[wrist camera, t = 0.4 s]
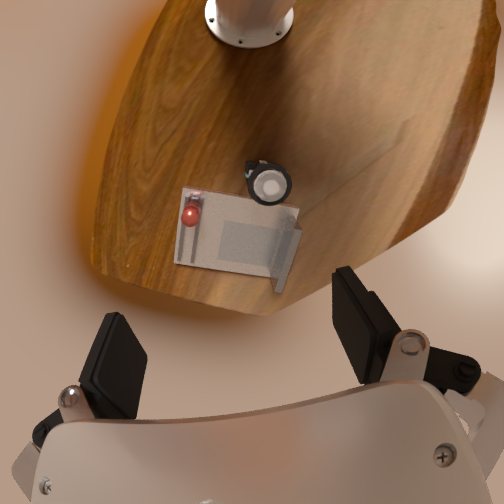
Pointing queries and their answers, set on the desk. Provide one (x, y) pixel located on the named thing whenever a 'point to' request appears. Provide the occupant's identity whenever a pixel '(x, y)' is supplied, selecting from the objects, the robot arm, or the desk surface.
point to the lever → (191, 212)
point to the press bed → (239, 235)
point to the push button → (267, 182)
